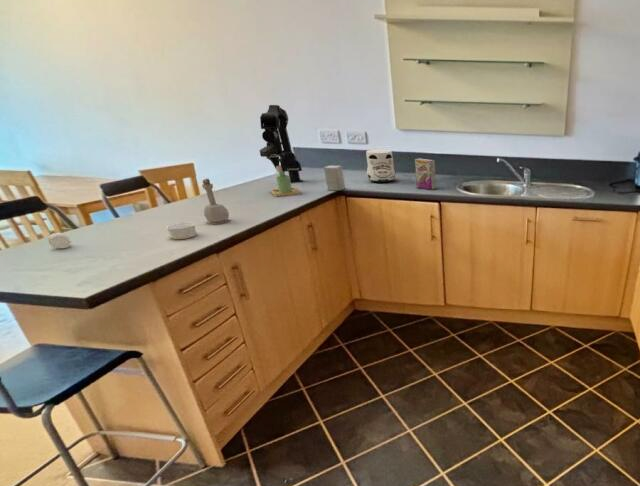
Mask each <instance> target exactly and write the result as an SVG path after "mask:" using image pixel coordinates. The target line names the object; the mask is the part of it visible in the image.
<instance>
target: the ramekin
mask: <svg viewBox="0 0 640 486" xmlns="http://www.w3.org/2000/svg"><path fill="white" fill-rule="evenodd" d="M166 230H167V232H168V234H169V236H170V238H172V239H173V240H185V239H186V240H187V239H190V238H193V237H196V236H197V230H196V223H194V222H188V221H187V222H177V223H172V224H169V225H167V226H166Z"/></svg>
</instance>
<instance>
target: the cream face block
mask: <svg viewBox="0 0 640 486" xmlns="http://www.w3.org/2000/svg"><path fill="white" fill-rule="evenodd" d="M365 155H366V163H367V169H366V175H367V178H368V180H369V181H371V182H374V183H389V182H393V181H395V180H396V178H397V171H396V169H395V165H394V158H393V152H392V150H391V149H368V150H366V153H365Z"/></svg>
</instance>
